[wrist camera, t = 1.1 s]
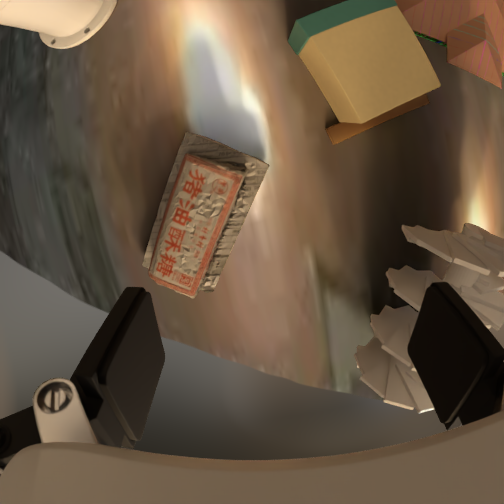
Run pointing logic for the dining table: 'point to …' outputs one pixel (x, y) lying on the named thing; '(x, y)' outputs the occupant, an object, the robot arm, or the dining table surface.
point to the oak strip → (372, 120)
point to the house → (463, 32)
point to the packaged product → (201, 214)
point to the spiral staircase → (412, 291)
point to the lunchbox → (363, 58)
